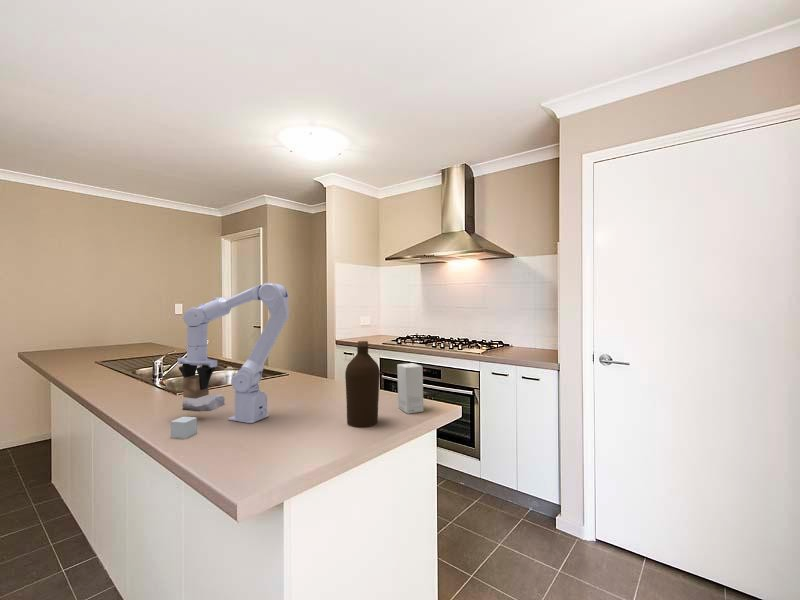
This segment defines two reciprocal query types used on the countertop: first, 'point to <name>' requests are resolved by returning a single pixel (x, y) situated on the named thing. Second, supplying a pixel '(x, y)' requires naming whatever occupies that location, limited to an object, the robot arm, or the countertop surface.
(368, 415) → the olive oil
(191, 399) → the stone block
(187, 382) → the walnut block
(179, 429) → the blue-grey block
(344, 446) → the countertop surface
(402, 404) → the skincare box
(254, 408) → the robot arm
